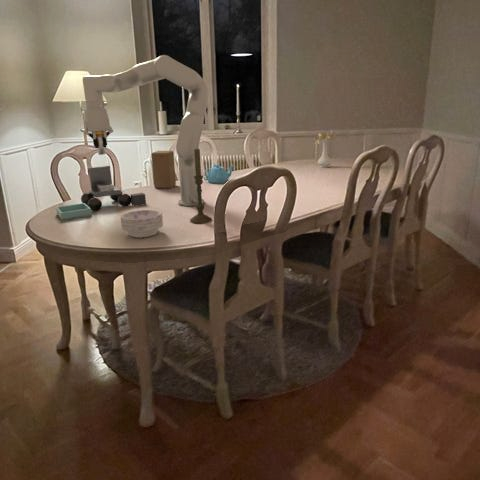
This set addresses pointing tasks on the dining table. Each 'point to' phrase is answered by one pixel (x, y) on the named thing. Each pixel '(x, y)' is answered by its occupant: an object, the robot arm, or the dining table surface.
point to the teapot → (218, 174)
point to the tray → (73, 211)
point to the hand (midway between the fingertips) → (100, 147)
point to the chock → (138, 199)
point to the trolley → (103, 189)
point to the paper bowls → (142, 223)
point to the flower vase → (324, 147)
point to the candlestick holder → (199, 193)
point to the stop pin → (100, 143)
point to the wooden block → (163, 169)
